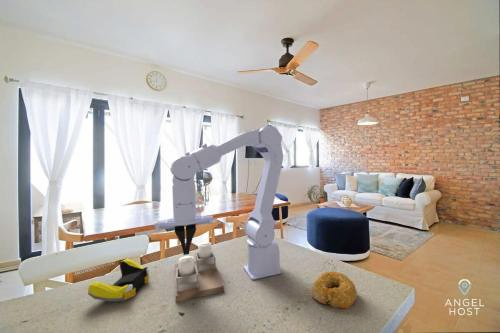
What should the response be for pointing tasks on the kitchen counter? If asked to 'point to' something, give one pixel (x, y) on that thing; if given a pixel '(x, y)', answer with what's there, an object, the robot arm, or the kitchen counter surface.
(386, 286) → the kitchen counter surface
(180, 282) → the knob board
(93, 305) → the kitchen counter surface
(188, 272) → the knob left
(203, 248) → the knob right
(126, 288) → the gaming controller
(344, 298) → the bagel
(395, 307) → the kitchen counter surface
